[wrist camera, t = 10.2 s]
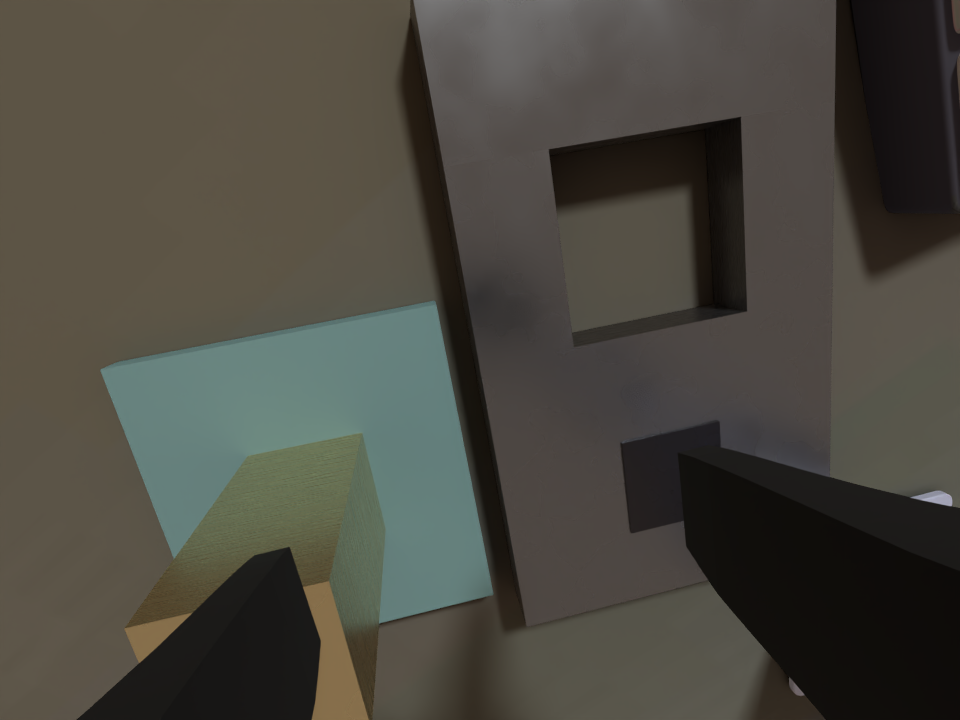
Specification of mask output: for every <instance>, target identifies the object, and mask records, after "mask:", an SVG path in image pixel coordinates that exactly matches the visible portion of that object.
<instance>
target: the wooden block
mask: <svg viewBox="0 0 960 720" xmlns="http://www.w3.org/2000/svg"><path fill="white" fill-rule="evenodd" d="M385 533H386V528H385V524H384V520H383V516H382V512H381V508H380V504H379V500H378V496H377V491H376V487H375V483H374V479H373V475H372V471H371V467H370V463H369V459H368V455H367V450H366V446H365V442H364V438H363V434H362V433H357V434H352V435H347V436H342V437H338V438H333V439H328V440H323V441H318V442H313V443H308V444H303V445H299V446H294V447H289V448H284V449H279V450H274V451H269V452H265V453H260V454H255V455H250V456H247V458H246V459H245V460H244V462H243V463H242V465H241V466H240V467H239V469H238V470H237V472H236V473H235V474H234V476H233V477H232V479H231V480H230V481H229V483H228V484H227V486H226V487H225V488H224V490H223V491H222V493H221V494H220V495H219V497H218V498H217V500H216V501H215V502H214V504H213V505H212V507H211V508H210V509H209V511H208V512H207V514H206V515H205V516H204V518H203V519H202V521H201V522H200V523H199V525H198V526H197V528H196V529H195V530H194V532H193V533H192V535H191V536H190V537H189V539H188V540H187V542H186V543H185V544H184V546H183V547H182V549H181V550H180V551H179V553H178V554H177V556H176V557H175V558H174V560H173V561H172V563H171V564H170V565H169V567H168V568H167V570H166V571H165V572H164V574H163V575H162V577H161V578H160V579H159V581H158V582H157V584H156V585H155V586H154V588H153V589H152V591H151V592H150V593H149V595H148V596H147V598H146V599H145V600H144V602H143V603H142V605H141V606H140V607H139V609H138V610H137V612H136V613H135V614H134V616H133V617H132V619H131V620H130V621H129V623H128V624H127V626H126V627H125V628H124V629H125V631H126V633H127V636H128V638H129V640H130V643H131V645H132V647H133V650H134V652H135V654H136V657H137V659H138V662H139V663H140V662H141V661H142V660H143V659H145V658H146V657H147V656H148V655H149V654H150V653H151V652H152V651H153V650H154V649H156V648H157V647H158V646H159V645H160V644H161V643H162V642H163V641H164V640H165V639H166V638H167V637H168V636H169V635H170V634H171V633H172V632H173V631H174V630H175V629H176V628H177V627H178V626H179V625H180V624H182V623H183V622H184V621H185V620H186V619H187V618H188V617H189V616H190V615H191V614H192V613H193V612H194V611H195V610H196V609H197V608H198V607H199V606H200V605H201V604H202V603H203V602H204V601H205V600H206V599H207V598H208V597H209V596H210V595H211V594H212V593H213V592H215V591H216V590H217V589H218V588H219V587H220V586H221V585H222V584H223V583H224V582H225V581H226V580H227V579H228V578H229V577H230V576H231V575H232V574H233V573H234V572H235V571H237V570H238V569H239V568H240V567H241V566H242V565H243V564H244V563H246V562H247V561H248V560H249V559H250V558H252V557H253V556H254V555H257V554H262V553H266V552H270V551H274V550H278V549H282V548H286V547H290V549H291V552H292V555H293V558H294V561H295V564H296V567H297V570H298V573H299V576H300V579H301V582H302V586H303V589H304V592H305V595H306V598H307V601H308V604H309V607H310V610H311V613H312V616H313V619H314V622H315V625H316V628H317V631H318V634H319V637H320V640H321V648H320V660H319V672H318V681H317V690H316V700H315V706H314V711H313V716H312V720H372V716H373V702H374V688H375V674H376V660H377V646H378V632H379V617H380V603H381V589H382V575H383V561H384V547H385Z"/></svg>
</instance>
